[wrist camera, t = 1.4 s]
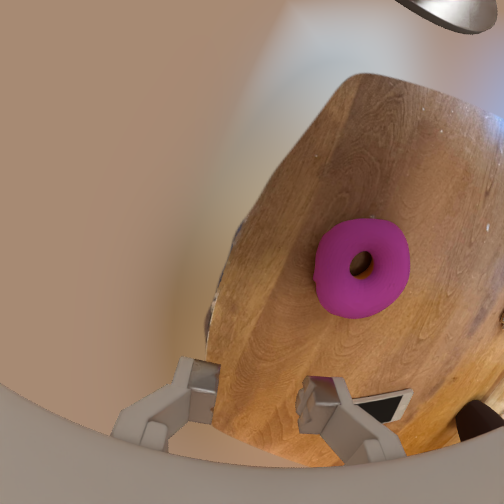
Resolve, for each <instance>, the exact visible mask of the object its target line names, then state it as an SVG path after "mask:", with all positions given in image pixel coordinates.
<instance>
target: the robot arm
mask: <svg viewBox="0 0 504 504" xmlns="http://www.w3.org/2000/svg"><path fill="white" fill-rule="evenodd" d="M220 367H221V364H217V363H212V362H207V361H202V360H197V359H192V358H188V357H184V356H181V357H180V359H179V362H178V365H177V368H176V371H175V374H174V377H173V380H172V384H171V385H170V384H166V385H165V386H163V387H161V388H160V389H158V390H156V391H155V392H153V393H151V394H150V395H148V396H146V397H144V398H143V399H141V400H139V401H138V402H136V403H134V404H133V405H131V406H129V407H127V408H125V409H123V410H121V412H120V414H119V416H118V419H117V421H116V423H115V425H114V428H113V430H112V433H111V435H110V436H108V435H105V434H102V433H99V432H97V431H94V430H92V429H89V428H87V427H84V426H82V425H79V424H77V423H75V422H72V421H70V420H68V419H66V418H63V417H61V416H59V415H57V414H55V413H53V412H51V411H49V410H47V409H45V408H43V407H41V406H39V405H37V404H35V403H33V402H32V401H30V400H28V399H26V398H24V397H23V396H21V395H19V394H17V393H16V392H14V391H12V390H11V389H9V388H8V387H6V386H4V385H3V384H1V383H0V504H504V426H502V427H499V428H497V429H495V430H492V431H490V432H487V433H485V434H482V435H480V436H477V437H474V438H472V439H469V440H466V441H463V442H460V443H457V444H454V445H450V446H447V447H444V448H440V449H437V450H433V451H429V452H425V453H421V454H416V455H412V456H406V454H405V451H404V449H403V447H402V445H401V442H400V440H399V438H398V436H397V435H396V434H395V433H393V432H392V431H391V430H389V429H388V428H387V427H385V426H384V425H383V424H381V423H380V422H379V421H377V420H376V419H375V418H374V417H372V416H371V415H370V414H368V413H367V412H366V411H364V410H363V409H362V408H361V407H359V406H358V405H354V403H353V401H352V398H351V395H350V393H349V390H348V388H347V385H346V383H345V380H344V378H342V377H321V376H306V377H305V378H304V380H303V382H302V383H303V388H302V389H300V390H299V392H298V394H297V397H296V402H295V408H296V413H297V414H298V415H299V416H300V417H299V419H298V427H299V432H300V433H302V434H320V436H321V437H322V438H323V439H324V440H325V442H326V443H327V444H328V445H329V446H330V447H331V448H332V450H333V451H334V452H335V453H336V454H337V455H338V456H339V458H340V459H341V460H342V461H343V462H344V463H345V464H344V466H334V467H314V468H279V467H260V466H259V467H258V466H246V465H237V464H227V463H220V462H213V461H206V460H201V459H195V458H189V457H184V456H180V455H175V454H170V453H168V439H169V438H170V437H172V436H173V435H174V434H175V433H176V432H177V431H178V430H179V429H180V428H182V427H183V426H184V425H185V424H186V423H187V422H188V421H192V422H198V423H204V424H211V422H212V417H213V411H214V406H215V402H216V396H217V390H218V383H219V374H220Z"/></svg>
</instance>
